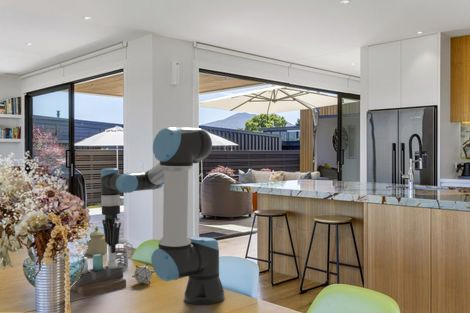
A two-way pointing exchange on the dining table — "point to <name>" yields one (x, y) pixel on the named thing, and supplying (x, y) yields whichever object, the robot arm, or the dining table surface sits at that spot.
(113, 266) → the grey plug
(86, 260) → the grey plug
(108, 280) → the socket board
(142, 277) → the grey spiky ball
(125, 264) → the french press
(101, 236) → the sugar bowl
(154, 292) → the dining table surface
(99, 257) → the teal plug
